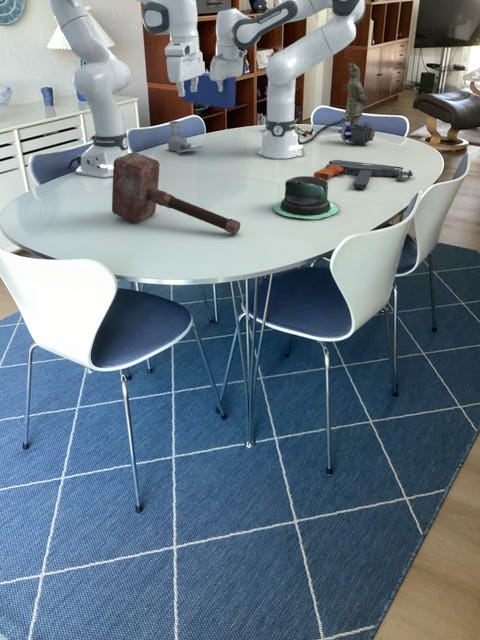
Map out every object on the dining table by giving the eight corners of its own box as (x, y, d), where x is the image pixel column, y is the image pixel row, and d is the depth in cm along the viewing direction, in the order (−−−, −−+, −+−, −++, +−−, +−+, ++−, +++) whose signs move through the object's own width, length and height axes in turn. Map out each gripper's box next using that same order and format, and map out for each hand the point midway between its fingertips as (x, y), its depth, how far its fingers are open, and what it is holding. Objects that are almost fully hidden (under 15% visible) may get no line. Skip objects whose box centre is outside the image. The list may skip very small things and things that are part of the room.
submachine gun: (306, 175, 196) (332, 158, 214) (306, 183, 197) (332, 166, 216) (396, 187, 182) (415, 168, 201) (395, 195, 183) (414, 175, 202)
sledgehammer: (250, 194, 153) (132, 150, 165) (234, 205, 146) (112, 158, 158) (240, 249, 164) (129, 203, 175) (224, 261, 156) (110, 213, 168)
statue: (367, 132, 266) (374, 63, 251) (349, 133, 264) (355, 64, 249) (357, 127, 275) (362, 61, 260) (339, 129, 273) (344, 62, 258)
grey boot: (176, 119, 242) (200, 124, 233) (178, 147, 248) (202, 152, 239) (161, 122, 236) (185, 127, 227) (163, 150, 242) (187, 156, 234)
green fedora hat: (344, 197, 179) (337, 220, 163) (293, 220, 188) (282, 244, 171) (324, 156, 174) (314, 175, 157) (272, 181, 182) (259, 202, 166)
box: (182, 101, 240) (181, 72, 234) (190, 99, 245) (190, 71, 239) (227, 108, 231) (228, 78, 225) (235, 106, 235) (236, 77, 229)
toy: (345, 120, 249) (377, 123, 242) (343, 139, 253) (375, 143, 246) (337, 123, 243) (369, 127, 236) (336, 143, 247) (367, 147, 240)
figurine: (302, 128, 254) (260, 115, 266) (300, 145, 258) (258, 131, 270) (318, 123, 263) (276, 111, 275) (315, 139, 267) (274, 127, 279)
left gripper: (189, 44, 183) (191, 89, 190) (161, 49, 167) (166, 98, 174) (206, 44, 181) (208, 89, 188) (181, 49, 165) (184, 99, 172)
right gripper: (219, 56, 215) (219, 94, 222) (245, 52, 230) (244, 88, 237) (205, 54, 217) (205, 92, 224) (233, 51, 232) (232, 86, 240)
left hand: (188, 94), depth 181 cm, fingers open, 8 cm apart
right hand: (226, 90), depth 231 cm, fingers closed on box, 6 cm apart
